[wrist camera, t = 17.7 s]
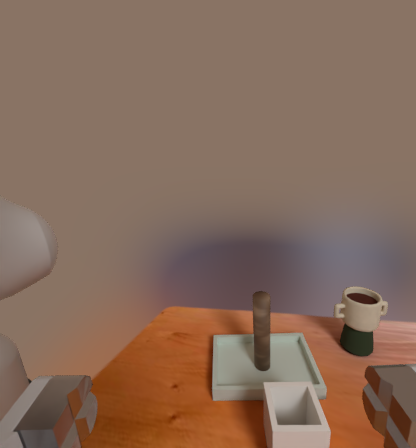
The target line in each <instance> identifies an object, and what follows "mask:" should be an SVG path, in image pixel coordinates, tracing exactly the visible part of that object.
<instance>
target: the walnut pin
mask: <svg viewBox="0 0 416 448" xmlns="http://www.w3.org/2000/svg"><path fill="white" fill-rule="evenodd" d="M253 329H254V365H255V367H256V369H258V370H260V371H267V370H268V369H269V368H270V295H269V294H268V293H266V292H262V291H259V292H255V293H254V294H253Z"/></svg>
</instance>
